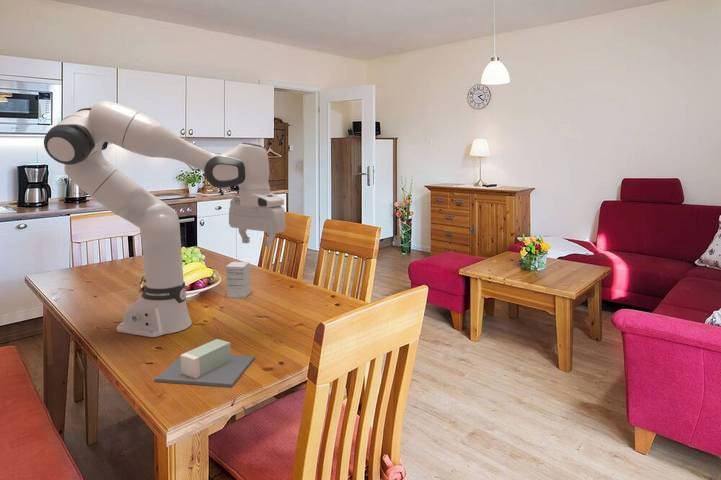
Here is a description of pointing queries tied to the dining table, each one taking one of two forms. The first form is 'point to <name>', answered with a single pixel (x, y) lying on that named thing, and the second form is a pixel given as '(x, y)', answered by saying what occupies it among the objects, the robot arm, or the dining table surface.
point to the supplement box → (238, 279)
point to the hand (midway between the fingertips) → (257, 244)
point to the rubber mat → (209, 373)
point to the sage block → (205, 358)
